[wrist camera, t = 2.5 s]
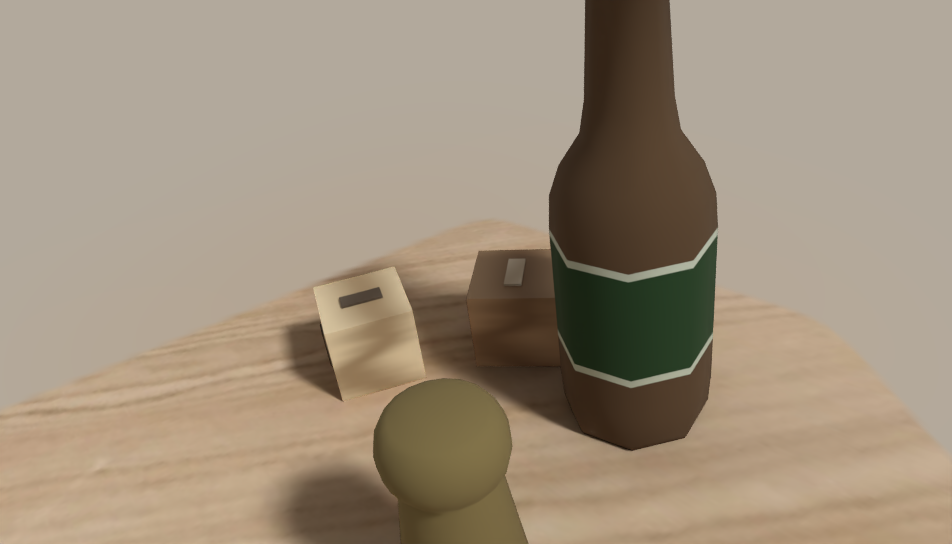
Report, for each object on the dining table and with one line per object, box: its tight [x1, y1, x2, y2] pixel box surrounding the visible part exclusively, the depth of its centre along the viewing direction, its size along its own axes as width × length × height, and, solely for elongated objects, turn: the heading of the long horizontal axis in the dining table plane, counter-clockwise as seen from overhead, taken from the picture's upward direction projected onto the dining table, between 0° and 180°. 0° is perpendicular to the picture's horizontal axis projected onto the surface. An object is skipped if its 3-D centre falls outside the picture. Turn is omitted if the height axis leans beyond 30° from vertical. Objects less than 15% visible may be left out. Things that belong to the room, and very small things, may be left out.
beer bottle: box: [549, 0, 718, 450], centre depth 38 cm, size 8×8×24 cm
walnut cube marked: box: [466, 249, 561, 367], centre depth 49 cm, size 5×5×5 cm
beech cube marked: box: [313, 266, 426, 402], centre depth 49 cm, size 5×5×5 cm
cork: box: [373, 378, 528, 544], centre depth 33 cm, size 6×6×11 cm
